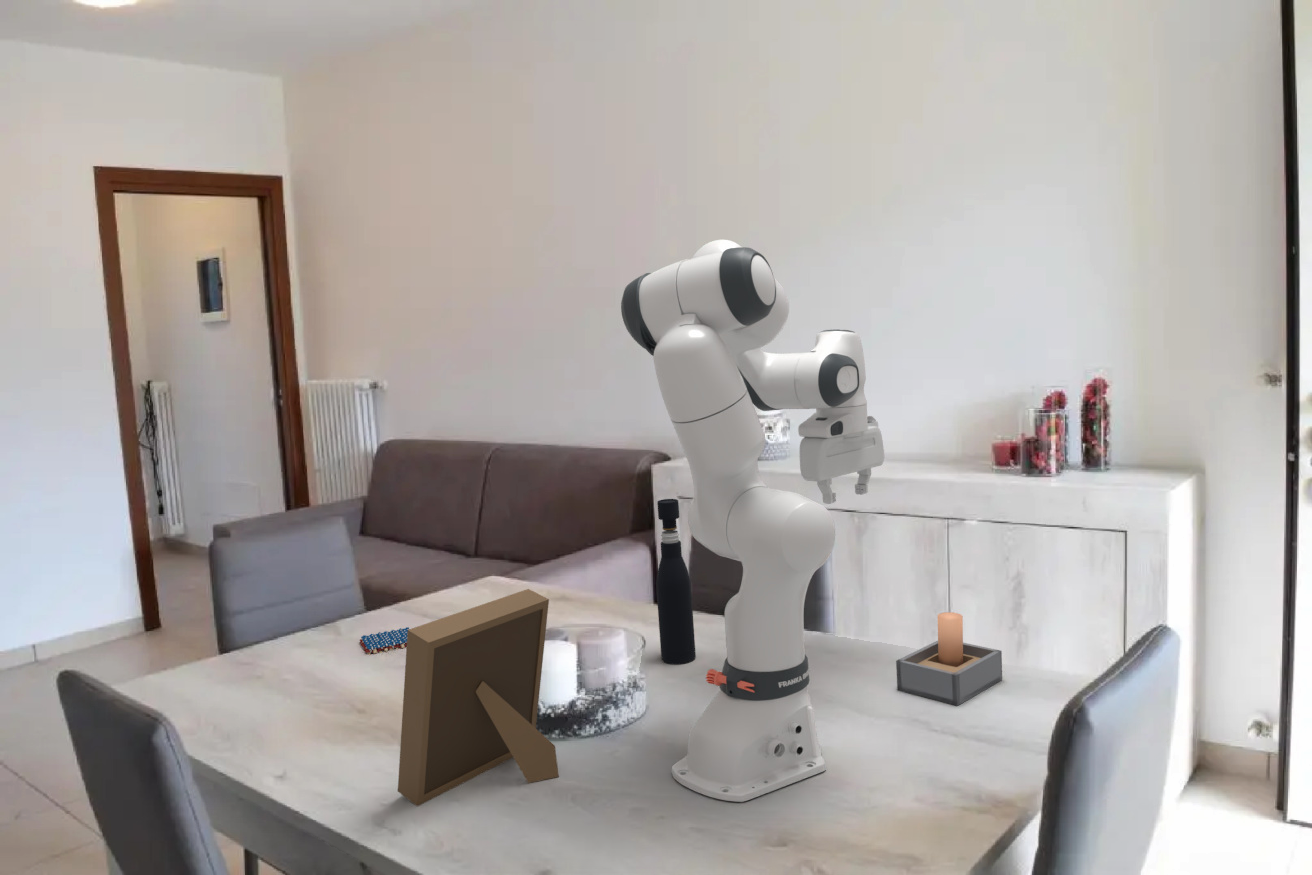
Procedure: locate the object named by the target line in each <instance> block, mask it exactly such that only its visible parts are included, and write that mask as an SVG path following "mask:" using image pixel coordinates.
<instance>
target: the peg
mask: <svg viewBox="0 0 1312 875" xmlns="http://www.w3.org/2000/svg"><path fill="white" fill-rule="evenodd" d="M963 621H964V619H963V615H962V614H960V613H958V612H952V611H950V612H949V611H947V612H941V613H938V614H937V641H938V663H940V664H944V665H949V666H953V667H958V666H960V665H962V664H963V643H964V629H963V628H964V627H963V625H964V624H963Z"/></svg>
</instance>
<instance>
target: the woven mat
mask: <svg viewBox="0 0 1312 875" xmlns="http://www.w3.org/2000/svg"><path fill="white" fill-rule="evenodd" d="M409 629H410V627H405V628H404V627H402V628H398V629H396V630H394V629H391V630H388V631H387V630H385V631H384V632H383V631H381V632H380V631H379V632H378V633H375V634H374V633H370V634H366V635H365V634H364V635H362V636H360V638H361V639H359V645H361V647H362V648H363V651H364V652H365V653H366V654H367V655H368V656H371V655H372V654H374V655H375V654H378V653H380V654H383V651H384V652H388V651H394V649H396V650H399V649H405V648H407V633H408V630H409Z"/></svg>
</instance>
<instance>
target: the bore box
mask: <svg viewBox="0 0 1312 875" xmlns="http://www.w3.org/2000/svg"><path fill="white" fill-rule="evenodd" d="M1002 652H1003V651H1002V650H1000V649H995V648H991V647H990V648H989V647H987V646H986V647H985V646H982V645H981V646H980V645H976V644H973V643H967V642H963V664H962V665H960V666H958V667H953V666H949V665H944V664H940V663H938V640H935V641H934V642H931V643H930V644H927V645H925V646H923V647H922V648H919V649H917V650H915V651H914V652H911V653H909V654H907V655H905V656H902V657H901V658H899V659H897V660H896V661H895V664H896V666H895V668H896V669H895V670H896V686H897V687H896V688H897V691H899V692H902V693H907V694H911V695H915V696H918V697H922V698H926V699H930V700H934V701H938V702H941V703H944V704H948V705H952V706H956V707H958V706H960V705H961V704H963V703H965V702H967V701H968V700H970V699H972V698H974V697H975V696H977V695H979V694H980V693H982V692H984V691H986V690H988V689H990V688H991V687H992V686H994V685H996V684H998V683H999V682H1001V681H1002V680H1003V660H1002V659H1003V658H1002V654H1003V653H1002Z"/></svg>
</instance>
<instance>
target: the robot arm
mask: <svg viewBox="0 0 1312 875" xmlns="http://www.w3.org/2000/svg"><path fill="white" fill-rule="evenodd" d="M773 273H774V272H773V270H772V267H771V266H770V264H769V262H768V260H767V258H766V257H765V256H764V255H763V254H762V253H760V252H758V251H757V250H755V249H753V248H751V247H747V246H746V247H744V246H741V245H740V244H739V243H737V242H735V241H733V240H729V239H716V240H713V241H712V240H711V241H710V242H707V243H705V244H704V245H703V246H701V247H700V248H699V249H698V250H697V251H696V252H695V253H694V255H693V256H692V258H685V259H682V260H679V261H676V262H673V263H671V264H669V265H666V266H664V267H661V268H660V269H658V270H655V271H654V272H646V273H643V274H642V275H640V276H638V277H637V278H635V279H633V280H632V281H631V282H629V283H628V284H627V285H626V286H625V287H624V290H623V294H622V298H621V303H620V306H621V307H620V310H621V316H622V320H623V324H624V326H625V329H626V330H627V332H628V334H629V335H630V337H631V338H632V339H633V340H634V341H635V342H636V343H637V344H638V345H639V346H640V347H641V348H643V349H645V351H647V352H648V354H650V356H652V357H653V364H654V369H655V374H656V379H657V382H658V386H659V390H660V393H661V398H662V400H663V403H664V406H665V409H666V411H667V413H668V416H669V418H670V421H671V423H672V425H673V429H675V433H676V435H677V437H678V438H677V439H678V440H679V442H680V445H681V447H682V448H681V449H682V450H683V453H684V455H685V458H686V461H687V462H688V466H689V469H690V473H691V476H692V477H691V479H692V484H693V485H692V486H693V495H694V496H693V498H692V500H691V502H690V505H689V507H688V512H687V523H688V527H689V528H688V529H689V531H690V533H691V535H692V537H693V538H694V539H695V540H696V542H698V543H700V544H701V545H702V546H703V547H705V548H706V549H708V550H709V551H711V552H712V553H714V554H716V555H718V556H720V557H724V558H728V559H731V560H735V561H738V562H740V563H741V565H742V579H741V584H740V587H739V590H738V592H737V593H736V594H735V595H733V596H732V597H731V598H730V599H729V600H728V602H726V605H725V608H724V614H723V615H724V629H725V641H726V642H725V643H726V646H725V647H726V658H725V659H724V663H723V667H722V671H717V670H716V669H713V668H710V669H709V670H707V673H706V675H705V676H706V677H705V679H706V682H707V683H708V684H709V685H710V684H711V685H715V686H718V687H719V690H718V692H717V693H716V694H715V696H714V697H713V699H711V702H710V703H709V704H708V705H707V707H706V709H705V710H704V711H703V712H702V714H701V715H700V716H699V717H698V719H697V721H696V722H695V723H694V724H693V725H692V727H691V728H690V731H689V735H688V739H687V754H686V755H685V756H684V757H682V759H680V760H678V761H677V762H675V763H674V764H673V765H672V766H671V775H672V777H673V779H675V780H676V781H677V782H678V783H679V784H681V785H682V786H684V787H686V788H688V789H689V790H691V791H694V792H696V793H698V794H702V795H704V796H707V797H709V798H712V799H717V800H721V801H728V802H739V803H743V802H746V801H750V800H752V799H756V798H758V797H760V796H762V795H765V794H767V793H771V792H774V791H776V790H778V789H781V788H784V787H786V786H789V785H791V784H794V783H796V782H799V781H803V780H804V779H806V778H810V777H813V776H815V775H817V774H820V773H822V772H824V771H825V770H827V769H826V768H827V767H826V761H825V759H824V757H823V756H822V748H821V745H820V743H819V738H818V737H819V736H818V731H817V724H816V718H815V712H814V708H813V705H812V700H811V699H810V695H809V690H808V689H809V688H808V686H809V683H810V667H809V658H808V655H806V654H805V633H804V632H805V629H804V628H805V627H804V626H805V625H804V624H805V623H804V621H805V620H804V612H805V611H804V608H805V600H806V595H807V591H808V589H809V588H808V587H809V585H810V582H811V579H812V577H813V575H814V574H815V572H816V571H817V570H818V569H820V568H821V567H822V566H824V564H825V563H826V562H827V561H828V559H829V557H830V556H831V554H832V552H833V549H834V546H835V544H836V543H835V542H836V525H835V522H834V518H833V516H832V514H831V513H830V511H829V510H828V509H827V508H826V507H825V506H824V505H823V504H821V503H818V502H816V501H815V500H814V499H811V498H809V497H807V496H805V495H803V494H801V493H798V492H795V491H788V490H782V489H776V488H771V487H768V486H767V485H766V484H765V483H764V481H763V480H762V478H761V475H760V471H759V465H758V463H759V462H758V459H759V458H760V456H761V454H762V453H763V451H764V449H765V446H766V434H765V431H764V429H763V426H762V424H761V421H760V419H759V416H758V414H757V411H756V409H755V408H757V409H759V410H761V411H763V412H770V411H779V410H780V411H781V410H810V409H811V410H815V409H816V410H815V411H816V412H814V413H813V414H812V415H811V416H810V417H808V418H807V419H805V421H803V422H802V423H800V424H799V425H798V429H797V432H798V436H799V437H803V438H802V439H801V441H800V442H799V443H800V444H799V468H800V474H801V476H802V478H803V479H804V481H807V482H816V485H817V487H818V490H819V491H820V492H821V494H822V503H824V504H825V505H831V504H833V503H834V504H835V503H836V502H837V499H836V498H837V497H836V496H837V493H836V492H833V490H832V487H831V485H832V482H833V481H832V480H833V479H834V478H837V477H841V476H845V475H849V474H852V473H857V475H858V478H857V483H856V484H854V493H855V494H856V495H865V494H866V495H867V494H868V493H869V491H868V490H869V488H868V487H869V486H868V484H869V481H870V478H871V476H872V469H873V468H876V467H880V466H881V467H882V465H883V463H884V461H885V449H884V447H885V446H884V443H883V441H884V440H883V434H882V431H881V429H880V428H879V422H878V421H877V420H876V419H875V417H874V416H872V415H868V402H867V398H866V396H865V384H866V366H865V365H866V364H865V356H864V350H863V345H862V340H861V337H860V334H859V333H857V332H855V331H854V330H848V329H824V330H822V331H820V332H817V334H816V336H815V343H814V348H813V349H811V350H810V352H809V351H807V352H789V353H777V352H776V353H773V352H767V351H763V350H762V348H764V347H765V346H767V345H768V344H770V343H771V342H773V341H774V340H775V339H776V338H777V337H778V336H779V334H781V332H782V330H783V329H784V327H785V325H786V323H787V320H788V316H789V311H790V310H789V308H790V305H789V299H788V296H787V294H786V292H785V289H784V288H783V286H782V285H781V284H780V282H779V281H778V280H777V279H776V277H775V276H774V274H773Z"/></svg>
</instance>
